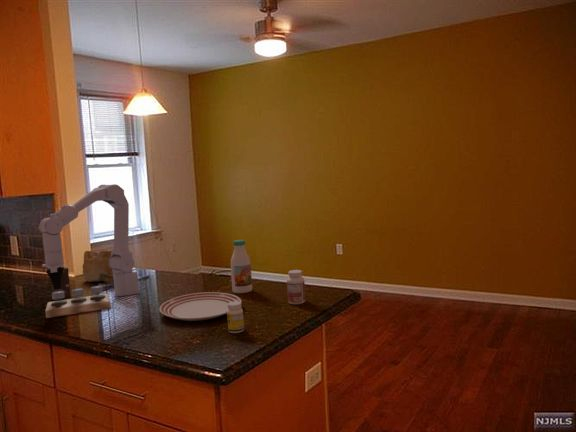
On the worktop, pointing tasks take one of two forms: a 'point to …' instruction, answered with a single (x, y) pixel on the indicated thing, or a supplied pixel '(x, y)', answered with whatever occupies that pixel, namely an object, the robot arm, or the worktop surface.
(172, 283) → the worktop surface
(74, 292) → the button middle
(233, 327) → the supplement bottle
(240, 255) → the milk bottle
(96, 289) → the button
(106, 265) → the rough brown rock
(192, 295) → the dinner plate
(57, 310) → the button board
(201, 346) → the worktop surface
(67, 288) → the box
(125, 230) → the robot arm
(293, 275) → the pill bottle
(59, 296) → the button
